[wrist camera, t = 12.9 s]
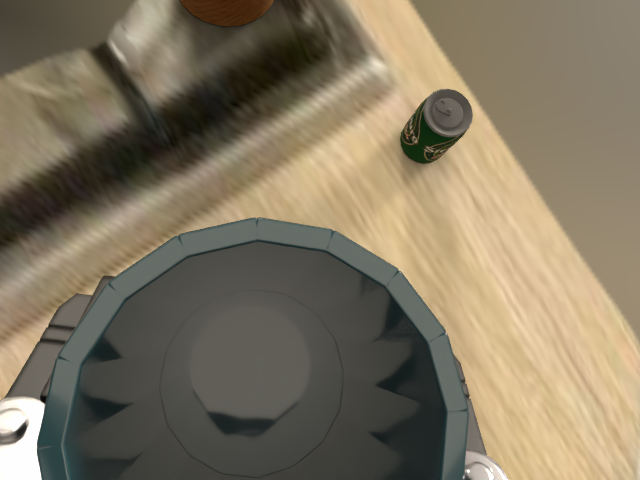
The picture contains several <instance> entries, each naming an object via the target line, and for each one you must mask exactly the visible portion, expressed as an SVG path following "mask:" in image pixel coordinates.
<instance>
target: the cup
mask: <svg viewBox="0 0 640 480" xmlns="http://www.w3.org/2000/svg"><path fill="white" fill-rule="evenodd" d="M445 332H446V331H445V329H444V328H443V326H442V325H441V324H440V322H439V321H438V320H437V318H436V317H435V316H434V314H433V313H432V312H431V310H430V309H429V308H428V306H427V305H426V304H425V302H424V301H423V300H422V298H421V297H420V296H419V294H418V293H417V292H416V291H415V289H414V288H413V287H412V285H411V284H410V283H409V281H408V280H407V279H406V277H405V276H404V275H403V273H402V272H401V271H398V268H396V267H395V266H393V265H391V264H390V263H388V262H386V261H385V260H383V259H382V258H380V257H378V256H377V255H375V254H373V253H372V252H370V251H368V250H367V249H365V248H363V247H362V246H360V245H358V244H357V243H355V242H353V241H352V240H350V239H349V238H347V237H345V236H344V235H342V234H340V233H339V232H337V231H333V230H332V229H328V228H321V227H315V226H309V225H303V224H297V223H291V222H285V221H279V220H273V219H266V218H260V217H259V218H257V219H256V218H249V219H245V220H240V221H236V222H231V223H227V224H222V225H218V226H213V227H209V228H204V229H200V230H196V231H191V232H187V233H182V234H180V235H178V236H175V237H173V238H172V239H170V240H169V241H167V242H166V243H164V244H163V245H161V246H160V247H158V248H157V249H155V250H154V251H152V252H151V253H150V254H148V255H147V256H145V257H144V258H142V259H141V260H139V261H138V262H136V263H135V264H133V265H132V266H130V267H129V268H127V269H126V270H124V271H123V272H122V273H120V274H119V275H117V276H116V277H114V278H113V279H111V280H110V281H109V282H108V284H106V285H105V286H104V287H103V289H102V290H101V292H100V293H99V294H98V296H97V297H96V299H95V300H94V302H93V303H92V305H91V306H90V308H89V309H88V310H87V312H86V313H85V315H84V316H83V318H82V319H81V321H80V322H79V324H78V325H77V327H76V328H75V329H74V331H73V332H72V334H71V335H70V337H69V338H68V340H67V341H66V343H65V344H64V345H63V347H62V348H61V350H60V351H59V353H58V357H57V358H56V359H55V363H54V367H53V372H52V376H51V381H50V385H49V390H48V394H47V398H46V403H45V407H44V412H43V416H42V421H41V425H40V429H39V434H38V438H37V443H36V445H37V446H38V447H37V449H36V452H37V458H38V464H39V469H40V475H41V480H464V473H465V460H466V447H467V435H468V422H469V411H468V409H469V407H468V403H467V400H466V396H465V393H464V389H463V386H462V382H461V379H460V376H459V372H458V369H457V365H456V362H455V358H454V355H453V351H452V348H451V344H450V341H449V337H448V335H447V333H445Z"/></svg>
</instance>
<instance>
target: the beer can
mask: <svg viewBox="0 0 640 480" xmlns="http://www.w3.org/2000/svg"><path fill="white" fill-rule="evenodd" d="M472 116H473V113H472V108H471V106H470V104H469V102H468V100H467V99H466V98H465V97H464V96H463V95H462V94H461V93H459V92H457V91H455V90H451V89H440V90H437V91H435V92H433V93H432V94H431V95H430V96H429V97H428V98H426V99H425V100H424V101H423V102H422V103H421V105H420V106H419V107H418V109H417V110H416V111H415V113H414V114H413V115H412V117H411V118H410V119H409V121H408V122H407V123H406V125H405V127H404V129H403V131H402V132H401V138H400V140H401V146H402V148H403V150H404V152H405V154H406V155H407V156H408V157H409V158H411V159H412V160H414V161H416V162H420V163H430V162H433V161H435V160H437V159H438V158H440V157H441V156H442V155H443V154H444V153H445V152H446V151H447V150H448V149H449V148H450V147H452V146H453V145H454V144H455V143H456V142H457V141H458V140H459V139H460V138H461V137H462V136H463V135H464V134H465V132H466V131H467V129H468V128H469V126H470V125H471V123H472ZM382 199H383V198H382Z"/></svg>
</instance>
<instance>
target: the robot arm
mask: <svg viewBox="0 0 640 480" xmlns="http://www.w3.org/2000/svg"><path fill="white" fill-rule="evenodd" d="M113 278H114V277H113V276H106V275H105V276H103V277H102V279H101V280H100V282H99V284H98V286H97V288H96V290H95V292H94V294H93V296H92V295H84V294H75V295H74V296H73V297H71V298H70V299H69V300H68V301H66V302H65V303H64V304H62V305H61V306H60V307H59V308H58V309H57V311H56V313H55V314H54V316H53V318H52V319H51V321H50V323H49V326H48V328H46V330H45V331H44V333H43V335H42V336H41V338H40V342H38V343H37V345H36V346H35V348H34V350H33V351H32V353H31V355H30V356H29V358H28V360H27V362H26V363H25V365H24V367H23V368H22V370H21V372H20V373H19V375H18V377H17V378H16V380H15V382H14V383H13V385H12V387H11V388H10V390H9V392H8V393H7V395H6V396H5V398H4V399H1V400H0V480H41V475H40V469H39V464H38V458H37V452H36V449H37V447H38V446H37V445H36V443H37V438H38V434H39V429H40V425H41V421H42V416H43V412H44V407H45V403H46V398H47V394H48V390H49V385H50V381H51V376H52V372H53V367H54V363H55V359H56V358H57V357H58V353H59V351H60V350H61V348H62V347H63V345H64V344H65V343H66V341H67V340H68V338H69V337H70V335H71V334H72V332H73V331H74V329H75V328H76V327H77V325H78V324H79V322H80V321H81V319H82V318H83V316H84V315H85V313H86V312H87V310H88V309H89V308H90V306H91V305H92V303H93V302H94V300H95V299H96V297H97V296H98V294H99V293H100V292H101V290H102V289H103V287H104V286H105V285H106V284H108V282H109V281H110V280H111V279H113ZM453 355H454V354H453ZM454 358H455V362H456V365H457V369H458V372H459V376H460V379H461V382H462V386H463V389H464V393H465V396H466V400H467V403H468V407H469V409H468V411H469V422H468V435H467V447H466V460H465V473H464V480H508V478H507V476H506V474H505V472H504V471H503V469H502V468H501V467H500V466H499V465H498V464H497V463H496V462H495V461H494V460H493V459H492V458H490V457H489V456H487V453H486V451H485V447H484V444H483V440H482V437H481V433H480V430H479V426H478V423H477V419H476V416H475V413H474V409H473V406H472V402H471V399H469V392H468V388H467V385H466V384H465V378H464V374H463V371H462V367H461V364H460V362H459V361H458V359H457V358H456V357H455V355H454Z"/></svg>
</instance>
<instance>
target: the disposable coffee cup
mask: <svg viewBox="0 0 640 480" xmlns="http://www.w3.org/2000/svg"><path fill="white" fill-rule="evenodd" d="M180 2H181V3H182V4H183V6H184V7H185V8H186V9H187V10H188V11H189V12H190V13H192V14H193V15H194V16H196V17H198V18H200V19H201V20H203V21H206V22H208V23H211V24H214V25H219V26H239V25H243V24H246V23H249V22H251V21H254V20H256V19H257V18H259V17H261V16H262V15H263V14H264V13H265V12H266V11H267V10H268V9H269V8H270V6H271V5H272V3H273V2H274V0H180Z"/></svg>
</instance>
